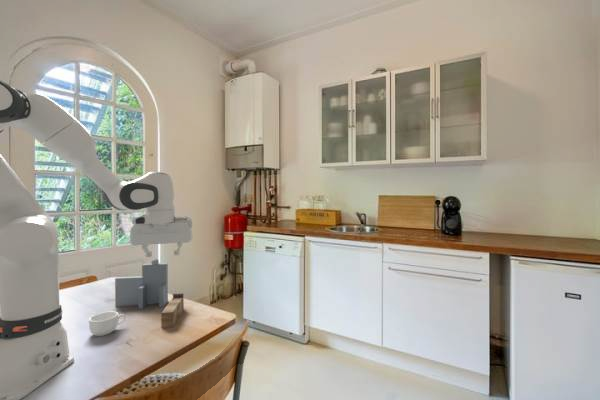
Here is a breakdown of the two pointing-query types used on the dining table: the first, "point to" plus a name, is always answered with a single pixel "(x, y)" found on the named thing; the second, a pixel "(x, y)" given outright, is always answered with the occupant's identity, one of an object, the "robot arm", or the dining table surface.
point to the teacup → (104, 322)
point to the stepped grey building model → (144, 286)
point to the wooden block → (172, 311)
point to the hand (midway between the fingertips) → (163, 255)
